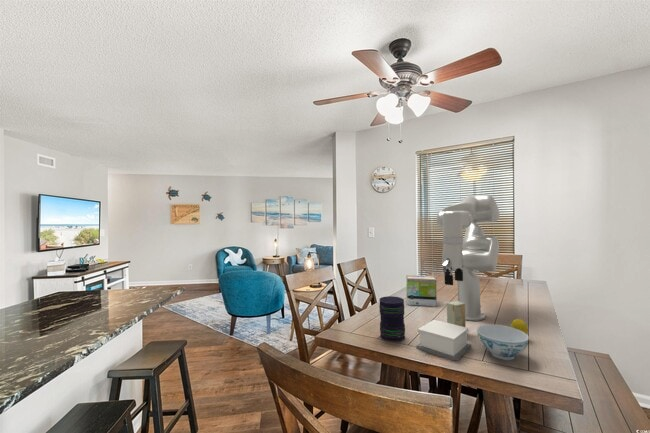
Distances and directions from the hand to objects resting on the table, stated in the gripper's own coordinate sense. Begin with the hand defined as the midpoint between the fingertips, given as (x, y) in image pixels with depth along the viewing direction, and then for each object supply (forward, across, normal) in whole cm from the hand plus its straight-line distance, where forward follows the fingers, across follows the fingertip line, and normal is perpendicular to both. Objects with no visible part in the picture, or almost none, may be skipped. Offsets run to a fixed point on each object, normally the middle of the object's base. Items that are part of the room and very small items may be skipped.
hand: (454, 282), depth 119 cm
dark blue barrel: (+21, +21, -16) cm, 34 cm away
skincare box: (+21, 0, 0) cm, 21 cm away
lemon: (+21, -10, +20) cm, 30 cm away
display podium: (+20, +17, +3) cm, 27 cm away
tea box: (+21, -28, -30) cm, 46 cm away
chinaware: (+21, +9, +19) cm, 30 cm away
